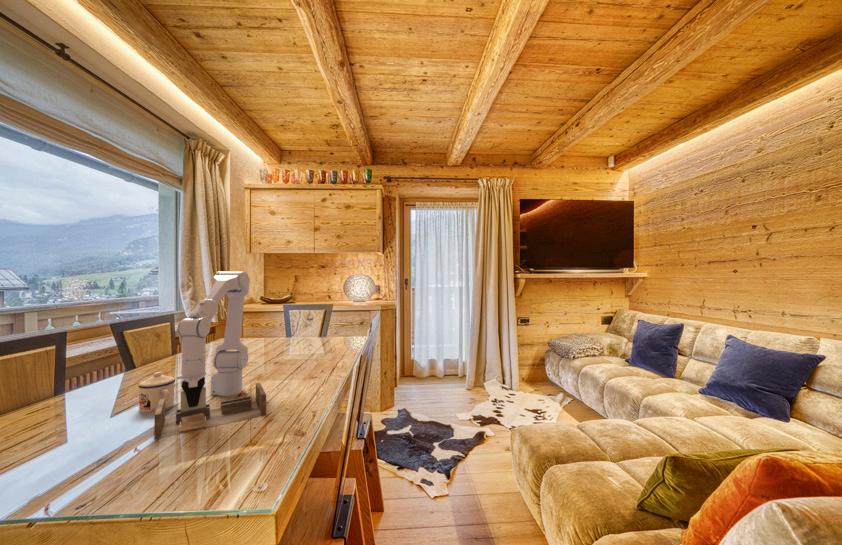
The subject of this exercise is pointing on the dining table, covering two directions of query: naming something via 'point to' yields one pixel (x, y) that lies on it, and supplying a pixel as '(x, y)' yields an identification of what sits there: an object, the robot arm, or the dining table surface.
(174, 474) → the dining table surface
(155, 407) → the teacup with lid
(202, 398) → the beige flat block
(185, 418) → the offcut upper
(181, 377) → the robot arm
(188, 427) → the offcut lower
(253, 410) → the rack
